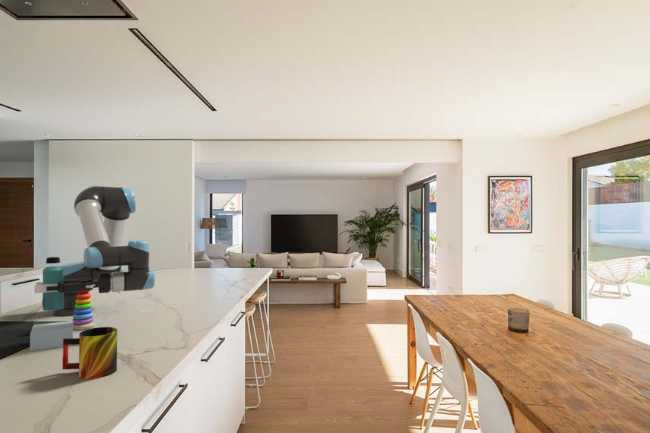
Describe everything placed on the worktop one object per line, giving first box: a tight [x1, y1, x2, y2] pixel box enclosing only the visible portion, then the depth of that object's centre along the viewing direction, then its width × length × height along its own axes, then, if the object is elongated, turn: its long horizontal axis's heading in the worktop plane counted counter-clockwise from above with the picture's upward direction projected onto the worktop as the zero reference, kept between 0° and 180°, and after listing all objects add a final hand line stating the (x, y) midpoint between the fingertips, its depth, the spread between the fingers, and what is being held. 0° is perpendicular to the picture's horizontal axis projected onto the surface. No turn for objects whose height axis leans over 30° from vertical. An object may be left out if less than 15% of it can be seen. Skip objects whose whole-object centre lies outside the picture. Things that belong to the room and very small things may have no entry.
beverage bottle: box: [41, 256, 64, 312], centre depth 141 cm, size 6×7×20 cm
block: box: [29, 320, 74, 352], centre depth 141 cm, size 12×12×6 cm
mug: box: [61, 326, 118, 380], centre depth 114 cm, size 10×14×12 cm
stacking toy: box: [71, 290, 95, 331], centre depth 161 cm, size 8×8×19 cm
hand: (35, 287), depth 138 cm, fingers closed on beverage bottle, 6 cm apart
